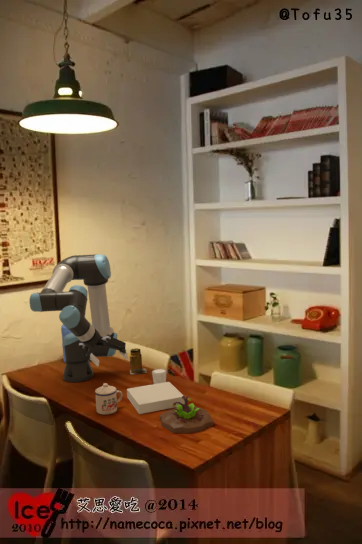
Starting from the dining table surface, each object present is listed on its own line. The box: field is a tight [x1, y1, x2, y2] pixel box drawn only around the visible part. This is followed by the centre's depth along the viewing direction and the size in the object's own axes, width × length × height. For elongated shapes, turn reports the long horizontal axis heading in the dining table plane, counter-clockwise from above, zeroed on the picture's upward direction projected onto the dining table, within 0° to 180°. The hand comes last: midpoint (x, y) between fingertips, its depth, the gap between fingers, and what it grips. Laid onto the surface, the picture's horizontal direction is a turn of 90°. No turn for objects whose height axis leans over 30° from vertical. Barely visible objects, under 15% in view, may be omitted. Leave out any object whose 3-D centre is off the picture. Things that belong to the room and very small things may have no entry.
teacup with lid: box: [94, 382, 123, 416], centre depth 200 cm, size 12×9×12 cm
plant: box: [159, 394, 214, 434], centre depth 186 cm, size 20×20×11 cm
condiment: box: [129, 347, 148, 375], centre depth 248 cm, size 7×8×12 cm
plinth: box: [126, 381, 185, 415], centre depth 208 cm, size 20×20×4 cm
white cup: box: [151, 368, 167, 384], centre depth 227 cm, size 7×7×7 cm
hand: (112, 360), depth 204 cm, fingers open, 13 cm apart
